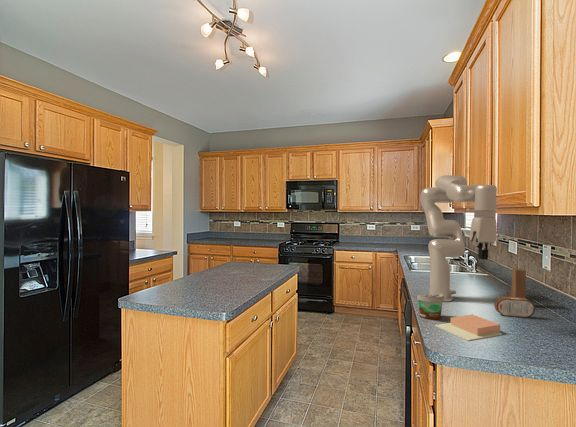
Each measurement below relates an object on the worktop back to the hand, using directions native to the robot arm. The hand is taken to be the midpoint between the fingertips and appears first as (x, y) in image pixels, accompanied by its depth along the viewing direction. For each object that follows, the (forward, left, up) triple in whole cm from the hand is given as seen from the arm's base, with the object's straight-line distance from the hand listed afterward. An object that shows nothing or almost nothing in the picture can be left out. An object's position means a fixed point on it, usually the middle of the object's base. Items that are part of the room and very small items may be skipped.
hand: (482, 258), depth 129 cm
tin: (-22, -1, -27) cm, 35 cm away
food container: (+15, -11, -27) cm, 33 cm away
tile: (+3, +4, -25) cm, 25 cm away
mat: (+12, +4, -27) cm, 30 cm away
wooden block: (-41, -13, -27) cm, 51 cm away
